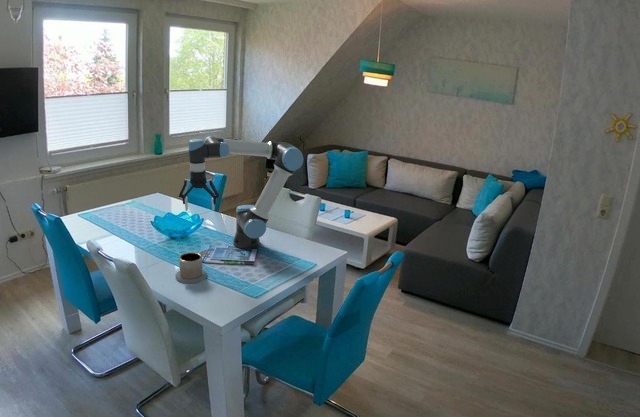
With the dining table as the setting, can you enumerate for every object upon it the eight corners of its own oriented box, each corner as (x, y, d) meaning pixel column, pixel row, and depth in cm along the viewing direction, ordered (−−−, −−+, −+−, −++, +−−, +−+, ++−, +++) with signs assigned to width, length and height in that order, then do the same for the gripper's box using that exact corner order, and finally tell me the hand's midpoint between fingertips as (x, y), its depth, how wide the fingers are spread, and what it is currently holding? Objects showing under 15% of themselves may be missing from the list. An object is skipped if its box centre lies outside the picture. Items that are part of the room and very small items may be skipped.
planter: (193, 267, 254) (192, 250, 251) (207, 274, 248) (206, 257, 245) (175, 274, 246) (174, 256, 243) (188, 281, 240) (188, 263, 237)
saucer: (209, 270, 255) (209, 268, 254) (203, 284, 240) (203, 282, 240) (180, 268, 254) (180, 267, 254) (171, 282, 240) (171, 280, 240)
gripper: (223, 168, 255) (225, 207, 263) (174, 168, 254) (177, 207, 261) (221, 172, 248) (223, 212, 255) (170, 172, 247) (174, 212, 254)
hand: (200, 210), depth 258 cm, fingers open, 13 cm apart
